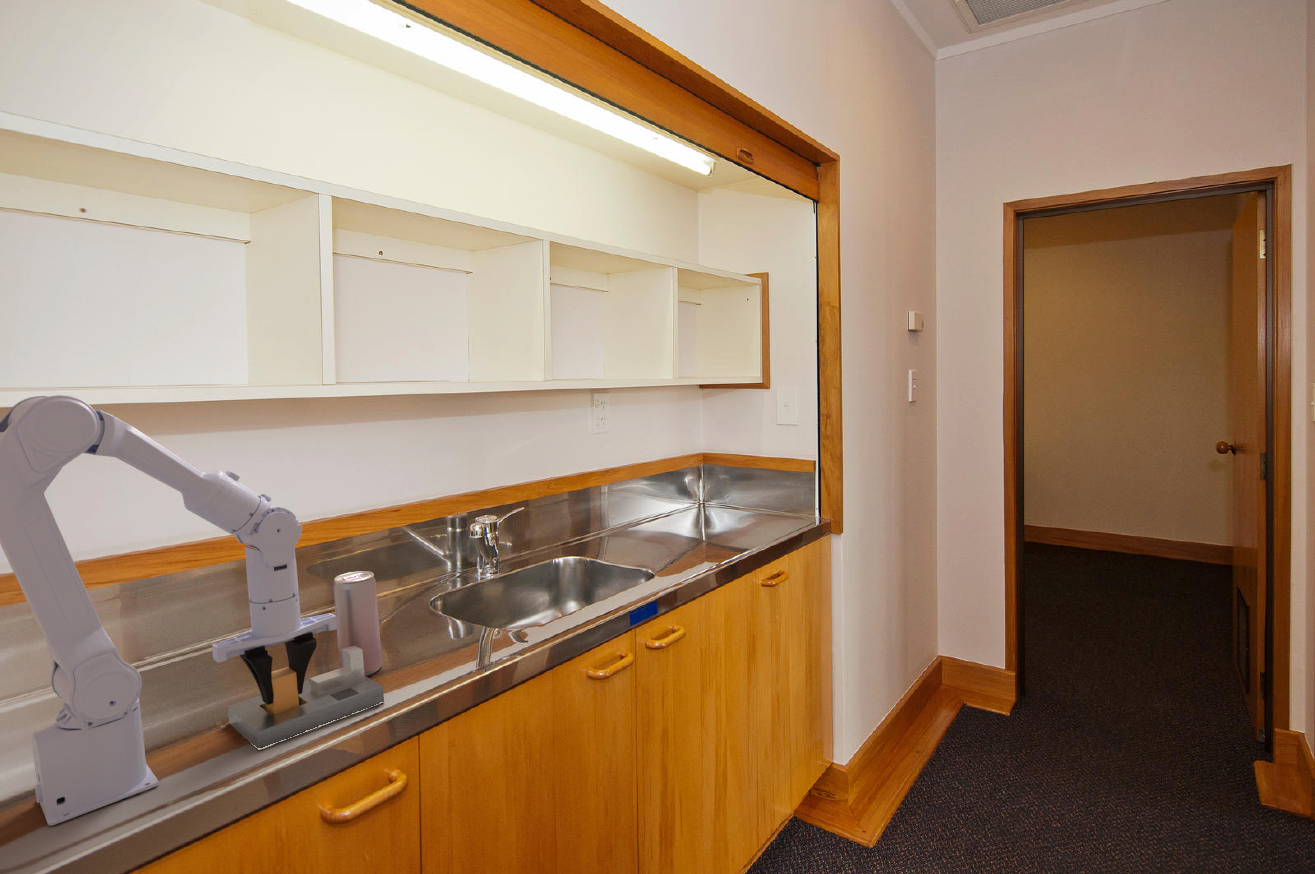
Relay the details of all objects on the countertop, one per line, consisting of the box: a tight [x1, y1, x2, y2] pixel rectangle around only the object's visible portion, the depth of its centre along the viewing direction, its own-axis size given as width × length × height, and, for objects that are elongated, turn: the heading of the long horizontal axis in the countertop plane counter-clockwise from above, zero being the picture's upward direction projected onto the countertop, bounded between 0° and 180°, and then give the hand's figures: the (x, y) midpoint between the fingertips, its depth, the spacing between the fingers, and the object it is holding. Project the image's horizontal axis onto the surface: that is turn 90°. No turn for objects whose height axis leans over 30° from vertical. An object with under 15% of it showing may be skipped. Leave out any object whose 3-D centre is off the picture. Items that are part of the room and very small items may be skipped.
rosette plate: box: [227, 676, 385, 748], centre depth 95 cm, size 16×11×2 cm
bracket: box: [309, 646, 365, 696], centre depth 98 cm, size 6×2×4 cm, turn 137°
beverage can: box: [332, 570, 383, 677], centre depth 108 cm, size 6×6×15 cm
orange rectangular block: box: [266, 666, 299, 716], centre depth 93 cm, size 3×3×6 cm
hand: (282, 696), depth 93 cm, fingers closed on orange rectangular block, 3 cm apart
